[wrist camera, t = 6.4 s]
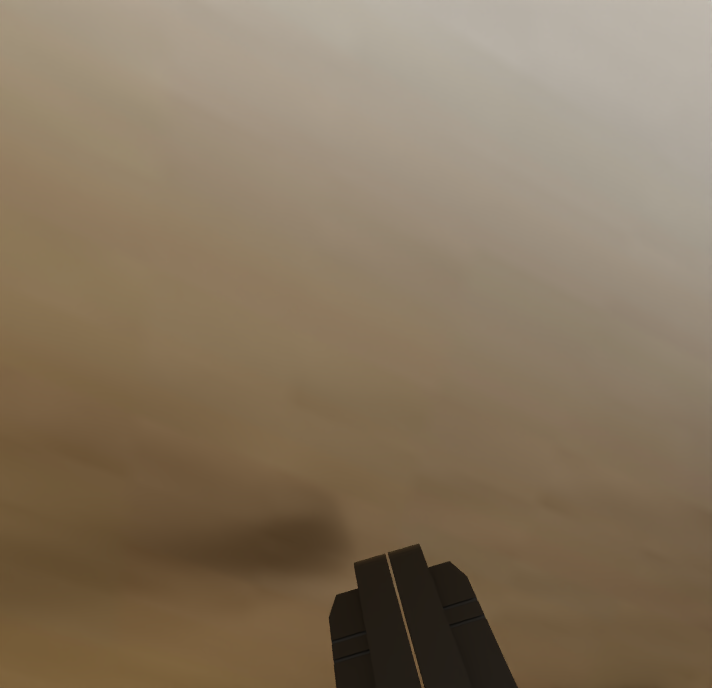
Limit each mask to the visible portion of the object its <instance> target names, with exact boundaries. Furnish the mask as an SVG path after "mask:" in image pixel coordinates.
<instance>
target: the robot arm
mask: <svg viewBox="0 0 712 688" xmlns="http://www.w3.org/2000/svg"><path fill="white" fill-rule="evenodd" d="M388 555H389V559H390V563H391V566H392V570H393V574H394V577H395V581H396V585H397V589H398V592H399V596H400V600H401V603H402V607H403V611H404V614H405V618H406V622H407V625H408V629H409V633H410V636H411V640H412V644H413V647H414V651H415V654H416V658H417V662H418V665H419V669H420V673H421V676H422V680H423V683H424V687H425V688H518V687H517V685H516V683H515V681H514V679H513V677H512V674H511V672H510V670H509V668H508V666H507V663H506V661H505V659H504V657H503V655H502V652H501V650H500V648H499V646H498V644H497V641H496V639H495V637H494V635H493V633H492V630H491V628H490V626H489V624H488V622H487V619H486V618H485V616H484V613H483V611H482V609H481V606H480V604H479V602H478V601H477V598H476V595H475V593H474V591H473V589H472V587H471V584H470V582H469V580H468V578H467V576H466V575H465V574H464V573H462V572H461V571H460V570H459V569H458V568H457V567H456V566H454V565H453V564H452V563H451V562H450V561H449V562H445V563H442V564H439V565H435V566H432V567H429V568H428V566H427V563H426V561H425V558H424V555H423V552H422V550H421V547H420V545H419V544H416V545H412V546H409V547H406V548H402V549H399V550H395V551H392V552H388ZM354 568H355V574H356V579H357V584H358V589H355V590H351V591H348V592H345V593H341V594H338V595H336V597H335V600H334V604H333V607H332V610H331V613H330V616H329V623H330V632H331V641H332V651H333V660H334V670H335V679H336V688H421V684H420V681H419V677H418V673H417V670H416V666H415V662H414V659H413V655H412V651H411V647H410V644H409V640H408V636H407V633H406V629H405V625H404V622H403V618H402V614H401V610H400V607H399V603H398V599H397V596H396V592H395V588H394V585H393V581H392V577H391V574H390V570H389V566H388V563H387V559H386V555H385V554H382V555H379V556H375V557H372V558H369V559H365V560H362V561H358V562H355V563H354Z"/></svg>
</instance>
